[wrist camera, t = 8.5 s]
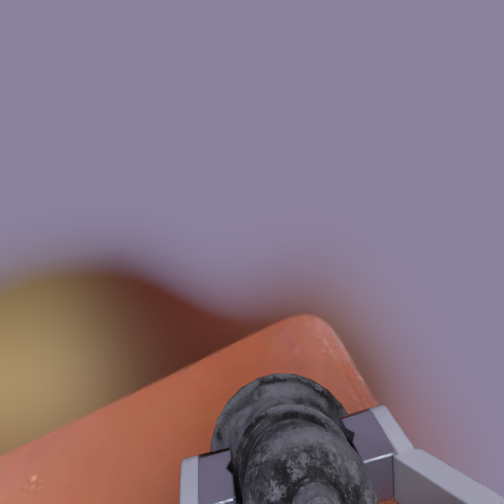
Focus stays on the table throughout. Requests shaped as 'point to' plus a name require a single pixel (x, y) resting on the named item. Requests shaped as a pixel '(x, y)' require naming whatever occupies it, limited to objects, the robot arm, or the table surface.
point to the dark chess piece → (291, 445)
